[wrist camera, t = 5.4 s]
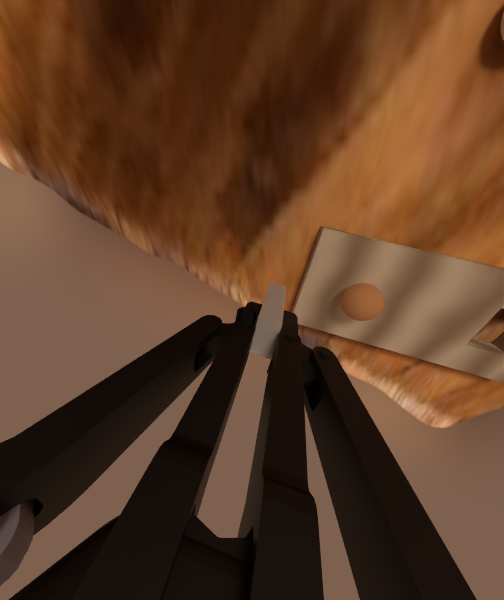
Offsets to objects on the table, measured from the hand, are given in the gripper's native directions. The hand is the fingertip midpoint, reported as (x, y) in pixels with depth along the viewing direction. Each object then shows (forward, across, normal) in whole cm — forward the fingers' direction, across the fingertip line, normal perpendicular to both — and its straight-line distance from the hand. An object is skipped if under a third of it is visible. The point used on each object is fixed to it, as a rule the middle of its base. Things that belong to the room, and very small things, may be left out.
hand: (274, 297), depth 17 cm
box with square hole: (+8, +17, 0) cm, 19 cm away
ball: (+4, +9, 0) cm, 10 cm away
